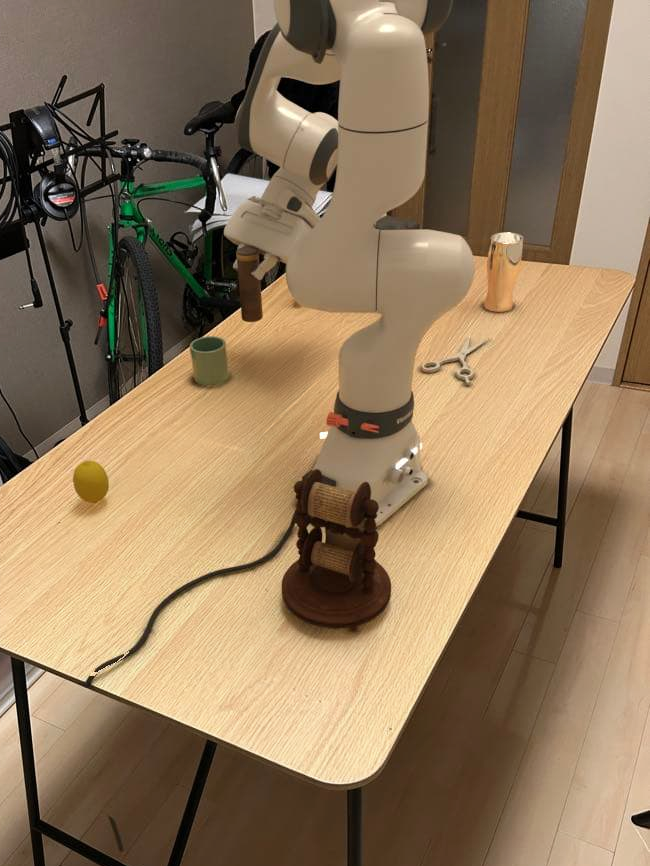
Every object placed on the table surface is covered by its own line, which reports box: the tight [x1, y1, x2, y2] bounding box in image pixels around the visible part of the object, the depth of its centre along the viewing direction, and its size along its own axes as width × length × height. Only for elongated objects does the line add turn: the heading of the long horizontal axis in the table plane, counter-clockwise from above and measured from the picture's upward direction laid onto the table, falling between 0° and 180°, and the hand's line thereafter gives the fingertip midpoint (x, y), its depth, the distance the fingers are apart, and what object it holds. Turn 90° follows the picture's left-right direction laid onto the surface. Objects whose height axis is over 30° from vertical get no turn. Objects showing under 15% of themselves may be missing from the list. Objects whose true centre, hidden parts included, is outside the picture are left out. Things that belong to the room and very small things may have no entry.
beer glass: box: [483, 231, 524, 313], centre depth 175 cm, size 7×7×15 cm
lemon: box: [72, 460, 110, 504], centre depth 132 cm, size 6×6×8 cm
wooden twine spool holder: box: [281, 469, 392, 633], centre depth 106 cm, size 15×15×20 cm
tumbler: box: [189, 335, 230, 386], centre depth 161 cm, size 7×7×8 cm
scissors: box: [421, 333, 491, 386], centre depth 162 cm, size 11×1×20 cm
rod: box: [235, 246, 264, 323], centre depth 152 cm, size 4×4×13 cm
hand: (246, 274), depth 151 cm, fingers closed on rod, 4 cm apart
